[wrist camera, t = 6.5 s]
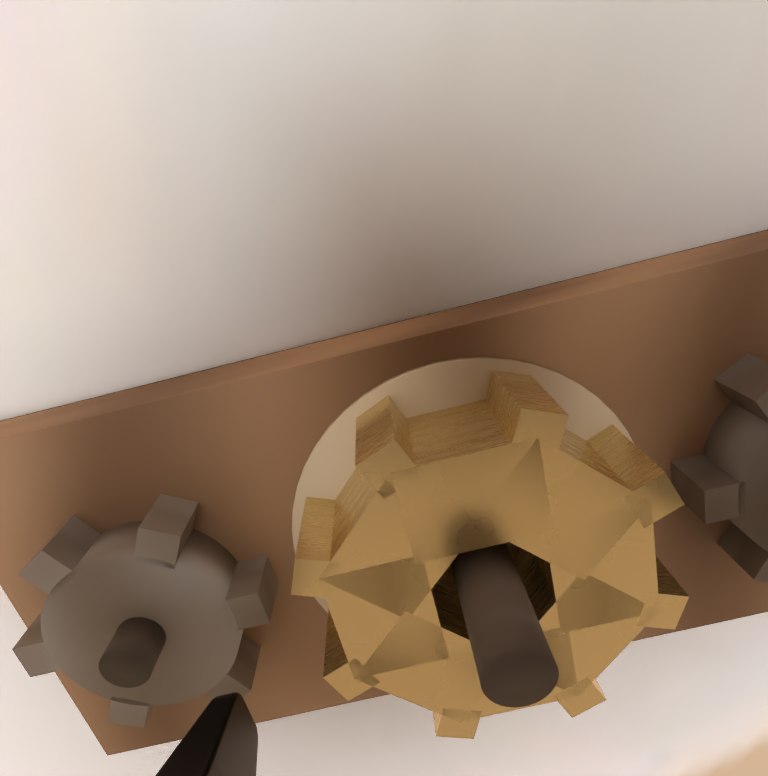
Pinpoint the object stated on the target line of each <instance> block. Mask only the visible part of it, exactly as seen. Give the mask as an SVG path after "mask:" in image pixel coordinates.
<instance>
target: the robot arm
mask: <svg viewBox="0 0 768 776" xmlns="http://www.w3.org/2000/svg"><path fill="white" fill-rule="evenodd" d="M257 747H258V734H257V728H256V725H255V722H254V720H253V718H252V716H251V714H250V711H249V709H248V707H247V705H246V703H245V701H244V699H243V697H242V695H241V694H240V693H238V692H233V693H228V694H224V695H219V696H216V697H215V698H213V699H212V700H211V701H210V703H209V704H208V705H207V707H206V708H205V709H204V711H203V712H202V713H201V715H200V716H199V718H198V719H197V720H196V722H195V723H194V724H193V726H192V727H191V728H190V730H189V731H188V732H187V734H186V735H185V737H184V738H183V739H182V741H181V742H180V743H179V745H178V746H177V747H176V749H175V750H174V751H173V753H172V754H171V756H170V757H169V758H168V760H167V761H166V762H165V764H164V765H163V766H162V768H161V769H160V770H159V772H158V773H157V775H156V776H256V765H257Z"/></svg>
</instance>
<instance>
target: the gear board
mask: <svg viewBox="0 0 768 776" xmlns="http://www.w3.org/2000/svg"><path fill="white" fill-rule="evenodd" d="M492 370H496V371H503V372H511V373H518V374H526V375H531V376H532V377H533V378H534V379H535V380H536V381H537V382H538V383H539V384H540V385H541V386H542V387H543V388H544V389H545V390H546V391H547V393H548V394H549V395H550V396H551V397H552V398H553V399H554V400H555V401H556V402H557V403H558V404H559V405H560V406H561V407H562V408H563V410H564V411H565V412H566V413H567V414H568V415H569V417H568V420H567V423H566V427H565V429H567V430H569V431H571V432H572V433H574V434H576V435H577V436H579V437H581V438H583V439H584V440H588V439H590V438H591V437H593V436H594V435H596V434H597V433H599V432H601V431H602V430H604V429H605V428H607V427H609V426H610V425H612V424H613V425H614V426H615V427H616V428H617V429H618V430H619V431H620V432H621V433H623V434H624V435H625V436H626V437H627V438H628V439H629V440H630V441H631V442H632V443H634V444H635V445H636V446H637V447H638V448H639V449H640V450H641V451H642V452H643V453H644V454H646V455H647V456H648V457H649V458H650V459H651V460H652V461H653V462H654V463H655V464H657V465H658V466H659V467H660V468H661V469H662V470H663V471H664V472H665V473H666V475H667V476H668V478H669V479H670V481H671V483H672V484H673V486H674V488H675V489H676V491H677V492H678V494H679V496H680V497H681V499H682V501H683V502H684V504H685V505H683V506H681V507H680V508H678V509H676V510H675V511H673V512H671V513H669V514H668V515H666V516H664V517H663V518H661V519H659V520H657V521H656V522H654V523H653V528H654V541H655V555H656V556H657V558H658V559H659V560H660V561H661V563H662V564H663V565H664V566H665V567H666V569H667V570H668V571H669V572H670V574H671V575H672V576H673V577H674V578H675V580H676V581H677V582H678V583H679V585H680V586H681V587H682V588H683V589H684V591H685V592H686V593H687V594H688V596H689V599H688V601H687V603H686V605H685V608H684V610H683V612H682V615H681V617H680V619H679V622H678V624H677V626H676V628H675V630H674V629H663V628H652V627H644V628H643V629H642V630H641V632H640V633H639V634H638V635H637V636H636V637H635V638H634V639H633V640H632V641H635V640H640V639H644V638H649V637H653V636H658V635H663V634H667V633H672V632H676V631H681V630H686V629H690V628H695V627H699V626H704V625H709V624H713V623H718V622H722V621H727V620H731V619H736V618H741V617H745V616H750V615H754V614H759V613H764V612H768V230H765V231H761V232H757V233H753V234H749V235H745V236H741V237H737V238H733V239H729V240H725V241H721V242H717V243H713V244H709V245H705V246H701V247H697V248H693V249H689V250H685V251H681V252H677V253H673V254H669V255H665V256H661V257H657V258H653V259H649V260H645V261H641V262H637V263H633V264H629V265H625V266H621V267H617V268H613V269H609V270H605V271H601V272H597V273H593V274H589V275H585V276H581V277H577V278H573V279H569V280H565V281H561V282H557V283H553V284H549V285H545V286H541V287H537V288H533V289H529V290H525V291H521V292H517V293H513V294H509V295H505V296H500V297H496V298H492V299H488V300H484V301H480V302H476V303H472V304H468V305H464V306H460V307H456V308H452V309H448V310H444V311H440V312H436V313H432V314H428V315H424V316H420V317H416V318H412V319H408V320H404V321H400V322H396V323H392V324H388V325H384V326H380V327H376V328H372V329H368V330H364V331H360V332H356V333H352V334H348V335H344V336H340V337H336V338H332V339H328V340H324V341H320V342H316V343H312V344H308V345H304V346H300V347H296V348H292V349H288V350H284V351H280V352H276V353H272V354H268V355H264V356H260V357H256V358H252V359H248V360H244V361H240V362H236V363H232V364H228V365H224V366H220V367H216V368H212V369H208V370H204V371H200V372H196V373H192V374H188V375H184V376H180V377H176V378H172V379H168V380H164V381H160V382H156V383H152V384H148V385H144V386H140V387H136V388H132V389H128V390H123V391H119V392H115V393H111V394H107V395H103V396H99V397H95V398H91V399H87V400H83V401H79V402H75V403H71V404H67V405H63V406H59V407H55V408H51V409H47V410H43V411H39V412H35V413H31V414H27V415H23V416H19V417H15V418H11V419H7V420H3V421H0V585H1V587H2V588H3V590H4V591H5V593H6V594H7V596H8V598H9V599H10V601H11V602H12V604H13V606H14V607H15V609H16V610H17V612H18V614H19V615H20V617H21V618H22V620H23V622H24V623H25V625H26V626H27V628H28V629H27V631H26V632H25V633H24V635H23V636H22V637H21V639H20V640H19V641H18V643H17V644H16V645H15V647H14V648H13V649H12V650H13V651H14V653H15V654H16V656H17V657H18V659H19V660H20V662H21V663H22V665H23V666H24V668H25V669H26V671H27V673H28V674H29V676H30V677H33V676H37V675H42V674H46V673H50V672H56V674H57V676H58V677H59V679H60V680H61V682H62V684H63V685H64V687H65V688H66V690H67V692H68V693H69V695H70V696H71V698H72V700H73V701H74V703H75V704H76V706H77V708H78V709H79V711H80V712H81V714H82V715H83V717H84V719H85V720H86V722H87V723H88V725H89V727H90V728H91V730H92V731H93V733H94V735H95V736H96V738H97V739H98V741H99V743H100V744H101V746H102V747H103V749H104V751H105V752H106V754H107V755H112V754H116V753H121V752H125V751H130V750H135V749H139V748H144V747H148V746H153V745H158V744H162V743H167V742H171V741H176V740H181V739H183V738H184V737H185V735H186V734H187V732H188V731H189V730H190V728H191V727H192V726H193V724H194V723H195V722H196V720H197V719H198V718H199V716H200V715H201V713H202V712H203V711H204V709H205V708H206V707H207V705H208V704H209V703H210V701H211V700H212V699H213V698H215V697H216V696H219V695H224V694H228V693H233V692H238V693H240V694H241V695H242V697H243V699H244V701H245V703H246V705H247V707H248V709H249V711H250V714H251V716H252V718H253V720H254V722H255V723H259V722H263V721H268V720H272V719H277V718H282V717H286V716H291V715H295V714H300V713H305V712H309V711H314V710H318V709H323V708H327V707H332V706H337V705H341V704H346V703H350V702H355V701H360V700H364V699H369V698H373V697H378V696H383V695H387V694H390V693H388V692H385V691H383V690H380V689H378V688H375V687H371V688H370V689H368V690H366V691H365V692H363V693H361V694H359V695H358V696H356V697H354V698H353V699H351V700H349V701H348V700H346V699H345V698H344V697H343V696H342V695H341V694H340V693H339V692H338V691H337V690H336V689H335V688H334V687H332V686H331V685H330V684H329V683H328V682H327V681H326V680H325V679H324V678H323V671H324V658H325V645H326V632H327V619H328V605H327V602H326V599H325V598H321V597H310V596H299V595H291V589H292V580H293V571H294V563H295V556H296V550H297V544H298V539H299V533H300V528H301V522H302V516H303V511H304V505H305V500H306V497H312V498H322V499H331V500H335V499H336V498H337V496H338V495H339V493H340V492H341V490H342V489H343V487H344V486H345V484H346V483H347V481H348V480H349V478H350V477H351V475H352V473H353V472H354V470H355V469H356V467H355V447H356V418H357V417H358V416H359V415H361V414H362V413H364V412H365V411H367V410H368V409H369V408H371V407H372V406H374V405H375V404H377V403H378V402H379V401H381V400H382V399H384V398H385V397H387V396H388V395H389V397H390V398H391V399H392V401H393V402H394V403H395V404H396V406H397V407H398V408H399V409H400V411H401V412H402V413H403V414H404V416H405V417H406V418H409V417H413V416H418V415H422V414H426V413H430V412H434V411H438V410H442V409H446V408H451V407H455V406H459V405H463V404H467V403H471V402H475V401H480V400H484V399H485V397H486V393H487V389H488V384H489V380H490V376H491V371H492ZM515 548H516V545H514V544H512V543H510V542H507V543H503V544H498V545H494V546H490V547H485V548H481V549H477V550H472V551H468V552H463V553H459V554H458V555H457V557H456V558H455V559H454V560H453V562H452V563H451V564H450V566H449V567H448V568H449V569H451V570H453V574H454V579H455V583H456V587H457V591H458V595H459V599H460V603H461V607H462V611H463V615H464V619H465V623H466V628H467V632H468V636H469V640H470V644H471V648H472V652H473V656H474V660H475V664H476V668H477V672H478V676H479V681H480V685H481V688H482V691H483V693H484V694H485V696H486V697H487V698H488V699H489V700H491V701H492V702H494V703H496V704H498V705H501V706H505V707H524V706H528V705H532V704H534V703H537V702H539V701H541V700H542V699H544V698H545V697H546V696H548V695H549V694H550V693H551V692H552V690H553V689H554V688H555V686H556V684H557V682H558V678H559V670H558V666H557V664H556V662H555V659H554V657H553V654H552V652H551V650H550V647H549V645H548V642H547V640H546V638H545V635H544V633H543V630H542V628H541V626H540V623H539V621H538V618H537V616H536V614H535V611H534V609H533V606H532V604H531V602H530V599H529V597H528V594H527V592H526V590H525V587H524V585H523V583H522V580H521V578H520V575H519V573H518V571H517V568H516V566H515V563H514V561H513V559H512V556H511V552H512V551H513V550H514V549H515Z"/></svg>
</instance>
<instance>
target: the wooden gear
mask: <svg viewBox="0 0 768 776" xmlns="http://www.w3.org/2000/svg"><path fill="white" fill-rule="evenodd" d="M568 417H569V415H568V414H567V413H566V412H565V411H564V410H563V408H562V407H561V406H560V405H559V404H558V403H557V402H556V401H555V400H554V399H553V398H552V397H551V396H550V395H549V394H548V393H547V391H546V390H545V389H544V388H543V387H542V386H541V385H540V384H539V383H538V382H537V381H536V380H535V379H534V378H533V377H532V376H531V375H526V374H518V373H511V372H503V371H496V370H492V371H491V376H490V380H489V384H488V389H487V393H486V397H485V399H484V400H480V401H475V402H471V403H467V404H463V405H459V406H455V407H451V408H446V409H442V410H438V411H434V412H430V413H426V414H422V415H418V416H413V417H409V418H406V417H405V416H404V414H403V413H402V412H401V411H400V409H399V408H398V407H397V406H396V404H395V403H394V402H393V401H392V399H391V398H390V397H389V395H388V396H387V397H385V398H384V399H382V400H381V401H379V402H378V403H377V404H375V405H374V406H372V407H371V408H369V409H368V410H367V411H365V412H364V413H362V414H361V415H359V416H358V417H357V418H356V447H355V467H356V469H355V470H354V472H353V473H352V475H351V477H350V478H349V480H348V481H347V483H346V484H345V486H344V487H343V489H342V490H341V492H340V493H339V495H338V496H337V498H336V499H335V500H331V499H322V498H312V497H306V500H305V505H304V511H303V516H302V522H301V528H300V533H299V539H298V544H297V550H296V556H295V563H294V571H293V580H292V589H291V595H299V596H310V597H321V598H325V599H326V602H327V605H328V619H327V632H326V645H325V658H324V671H323V678H324V679H325V680H326V681H327V682H328V683H329V684H330V685H331V686H332V687H334V688H335V689H336V690H337V691H338V692H339V693H340V694H341V695H342V696H343V697H344V698H345V699H346V700H348V701H349V700H351V699H353V698H354V697H356V696H358V695H359V694H361V693H363V692H365V691H366V690H368V689H370V688H371V687H375V688H378V689H380V690H383V691H385V692H388V693H390V694H392V695H395V696H397V697H400V698H402V699H405V700H407V701H409V702H412V703H414V704H417V705H419V706H422V707H424V708H427V709H429V710H431V711H433V717H434V725H435V732H436V736H441V737H455V738H470V739H474V736H475V732H476V729H477V726H478V722H479V719H480V717H484V716H489V715H493V714H498V713H503V712H507V711H512V710H517V709H521V708H526V707H531V706H535V705H540V704H545V703H549V702H554V701H558V702H559V703H560V704H561V705H562V706H563V708H564V709H565V710H566V711H567V712H568V713H569V715H570V716H571V717H572V718H573V717H575V716H576V715H578V714H580V713H582V712H584V711H586V710H588V709H590V708H592V707H593V706H595V705H597V704H599V703H601V702H603V701H605V700H606V698H605V696H604V694H603V692H602V690H601V688H600V686H599V684H598V682H597V680H596V678H597V677H598V675H599V674H600V673H601V672H602V671H603V670H604V669H605V668H606V667H607V666H608V665H609V664H610V663H611V662H612V661H613V660H614V659H615V658H616V657H617V656H618V655H619V653H620V652H621V651H622V650H623V649H624V648H625V647H626V646H627V645H628V644H629V643H630V642H631V641H632V640H633V639H634V638H635V637H636V636H637V635H638V634H639V633H640V632H641V630H642V629H643V628H644V627H652V628H663V629H674V630H675V628H676V626H677V624H678V622H679V619H680V617H681V615H682V612H683V610H684V608H685V605H686V603H687V601H688V599H689V596H688V594H687V593H686V592H685V591H684V589H683V588H682V587H681V586H680V585H679V583H678V582H677V581H676V580H675V578H674V577H673V576H672V575H671V574H670V572H669V571H668V570H667V569H666V567H665V566H664V565H663V564H662V563H661V561H660V560H659V559H658V558H657V556H656V555H655V541H654V528H653V523H654V522H656V521H657V520H659V519H661V518H663V517H664V516H666V515H668V514H669V513H671V512H673V511H675V510H676V509H678V508H680V507H681V506H683V505H685V504H684V502H683V501H682V499H681V497H680V496H679V494H678V492H677V491H676V489H675V488H674V486H673V484H672V483H671V481H670V479H669V478H668V476H667V475H666V473H665V472H664V471H663V470H662V469H661V468H660V467H659V466H658V465H657V464H655V463H654V462H653V461H652V460H651V459H650V458H649V457H648V456H647V455H646V454H644V453H643V452H642V451H641V450H640V449H639V448H638V447H637V446H636V445H635V444H634V443H632V442H631V441H630V440H629V439H628V438H627V437H626V436H625V435H624V434H623V433H621V432H620V431H619V430H618V429H617V428H616V427H615V426H614V425H613V424H612V425H610V426H609V427H607V428H605V429H604V430H602V431H601V432H599V433H597V434H596V435H594V436H593V437H591V438H590V439H588V440H584V439H583V438H581V437H579V436H577V435H576V434H574V433H572V432H571V431H569V430H567V429H565V427H566V423H567V420H568ZM507 542H510V543H512V544H514V545H516V548H515V549H514V550H513V551H512V552H511V556H512V559H513V561H514V563H515V566H516V568H517V571H518V573H519V575H520V578H521V580H522V583H523V585H524V587H525V590H526V592H527V594H528V597H529V599H530V602H531V604H532V606H533V609H534V611H535V614H536V616H537V618H538V621H539V623H540V626H541V628H542V630H543V633H544V635H545V638H546V640H547V642H548V645H549V647H550V650H551V652H552V654H553V657H554V659H555V662H556V664H557V666H558V670H559V678H558V682H557V684H556V686H555V688H554V689H553V690H552V692H551V693H550V694H549V695H548V696H546V697H545V698H544V699H542V700H541V701H539V702H537V703H534V704H532V705H528V706H524V707H505V706H501V705H498V704H496V703H494V702H492V701H491V700H489V699H488V698H487V697H486V696H485V694H484V693H483V691H482V688H481V685H480V681H479V676H478V672H477V668H476V664H475V660H474V656H473V652H472V648H471V644H470V640H469V636H468V632H467V628H466V623H465V619H464V615H463V611H462V607H461V603H460V599H459V595H458V591H457V587H456V583H455V579H454V574H453V570H451V569H449V568H448V567H449V566H450V564H451V563H452V562H453V560H454V559H455V558H456V557H457V555H458V554H459V553H463V552H468V551H472V550H477V549H481V548H485V547H490V546H494V545H498V544H503V543H507Z"/></svg>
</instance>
